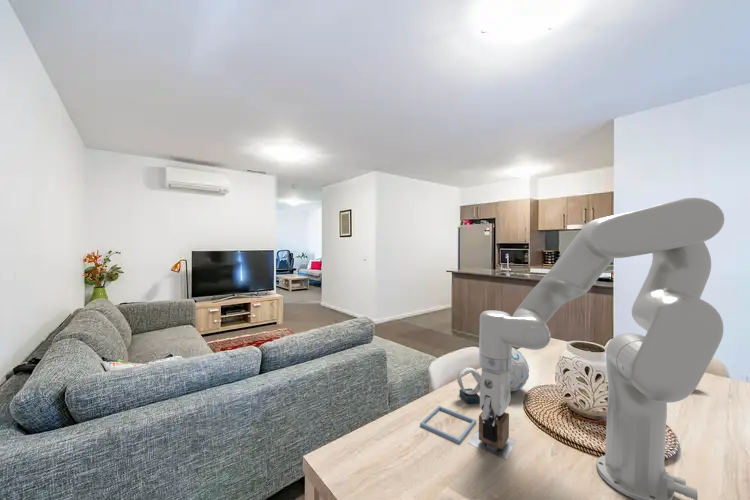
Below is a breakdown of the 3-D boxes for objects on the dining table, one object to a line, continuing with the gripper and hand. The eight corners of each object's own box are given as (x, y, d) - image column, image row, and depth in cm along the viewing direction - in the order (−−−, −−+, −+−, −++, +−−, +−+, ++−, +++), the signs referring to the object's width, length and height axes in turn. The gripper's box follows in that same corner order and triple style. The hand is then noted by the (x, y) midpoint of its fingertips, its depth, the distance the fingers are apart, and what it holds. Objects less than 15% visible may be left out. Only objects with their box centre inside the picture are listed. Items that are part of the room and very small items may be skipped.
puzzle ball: (475, 378, 112) (476, 339, 111) (514, 378, 112) (515, 339, 112) (492, 400, 96) (493, 354, 96) (537, 400, 97) (539, 354, 97)
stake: (515, 444, 75) (516, 415, 75) (506, 465, 68) (507, 432, 68) (480, 430, 81) (481, 402, 80) (467, 447, 74) (468, 417, 73)
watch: (485, 406, 93) (486, 371, 92) (461, 408, 91) (462, 373, 91) (477, 397, 98) (478, 364, 98) (454, 398, 97) (454, 365, 97)
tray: (475, 427, 82) (476, 420, 82) (459, 448, 73) (459, 440, 73) (438, 412, 89) (439, 405, 89) (420, 430, 80) (420, 422, 80)
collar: (508, 437, 75) (509, 413, 74) (502, 449, 70) (502, 424, 70) (486, 428, 78) (486, 406, 78) (478, 439, 74) (478, 415, 74)
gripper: (500, 377, 65) (499, 459, 65) (519, 355, 78) (518, 422, 79) (467, 368, 69) (466, 444, 70) (490, 348, 83) (489, 412, 83)
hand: (493, 432), depth 74 cm, fingers closed on collar, 5 cm apart
